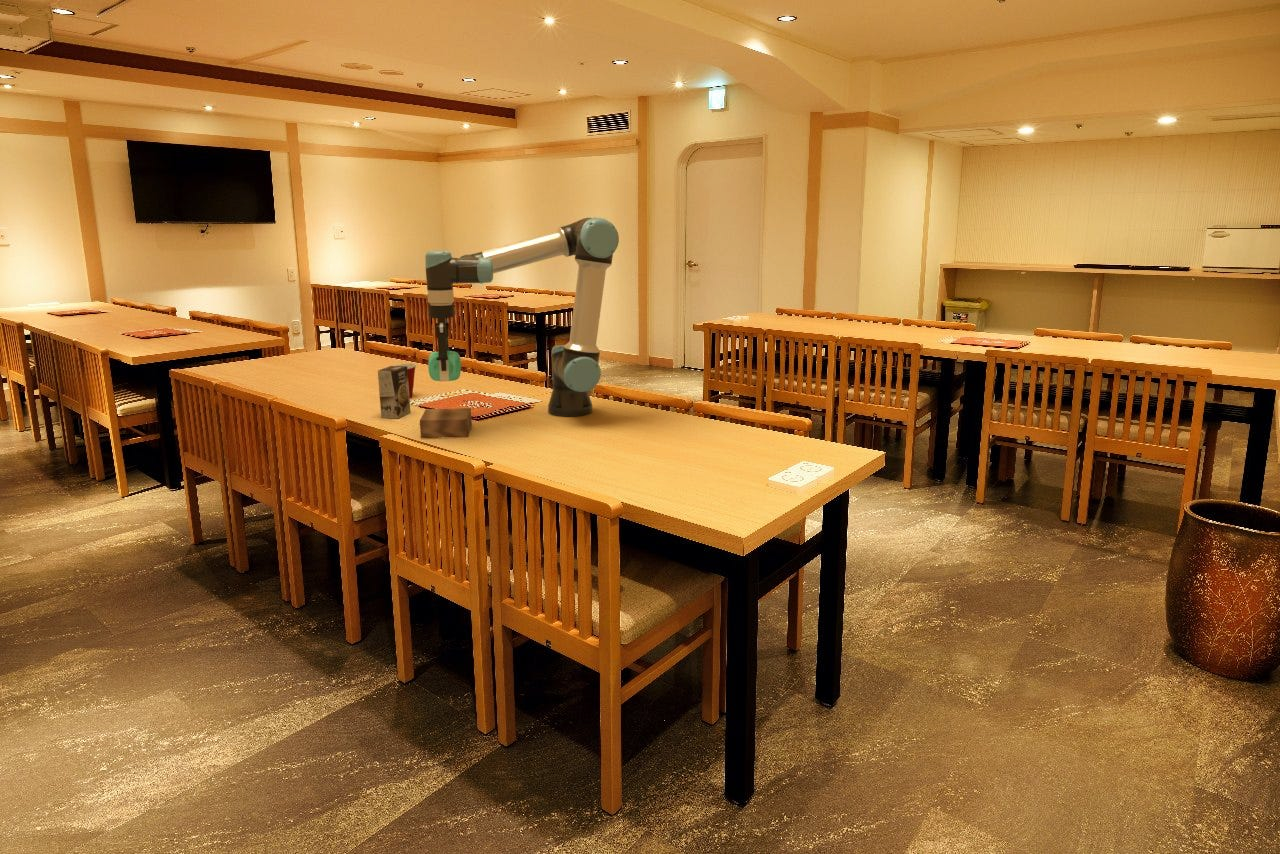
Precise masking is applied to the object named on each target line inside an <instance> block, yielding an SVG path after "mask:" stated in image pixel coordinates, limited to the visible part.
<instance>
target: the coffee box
mask: <svg viewBox="0 0 1280 854" xmlns="http://www.w3.org/2000/svg"><path fill="white" fill-rule="evenodd" d="M377 378H378V392H379V405H380V417H381V418H383V419H400V418H403V417H404V416H406V415H408V414H411V412H412V411H411V400H410V399H411V398H410V397H409V384H408V370H407V366H392V365H389V366H386V367H384V368H382V369H378V370H377Z"/></svg>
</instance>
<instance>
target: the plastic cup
mask: <svg viewBox="0 0 1280 854" xmlns="http://www.w3.org/2000/svg"><path fill="white" fill-rule="evenodd" d="M391 366H407V370H408V384H409V397H410V399H411V398H413V395H414V394H413V393H414V392H413V391H414V382H415V372H416V368H417V364H416V363H412V362H405V363H397V364H393V365H391Z"/></svg>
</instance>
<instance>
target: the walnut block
mask: <svg viewBox="0 0 1280 854" xmlns="http://www.w3.org/2000/svg"><path fill="white" fill-rule="evenodd" d="M472 425H473V424H472V407H469V408H468V407H467V408H466V407H465V408H464V407H463V408H462V407H461V408H459V407H458V408H430V409H429V408H426V409H425V410H424V411H423V414H422V416H421V417H420V419H419V430H420V439H421V438H427V439H442V438H441V437H458V438H469V436H470V433H471V429H472ZM439 437H440V438H439Z"/></svg>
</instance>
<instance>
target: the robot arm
mask: <svg viewBox="0 0 1280 854" xmlns="http://www.w3.org/2000/svg"><path fill="white" fill-rule="evenodd" d="M619 237H620V236H619V232H618V230H617V228H616V227H615V225H614V224H613V223H612V222H611V221H609V220H608V219H606V218H602V217H585V218H581V219H579V220H577V221H575V222H572V223H569V224H566V225H563V226H559V227H558V228H557V230H556V231H554V232H550V233H546V234H543V235H542V234H541V235H538V236H534V237H530V238H527V239H524V240H519V241H516V242H513V243H509V244H504V245H501V246H497V247H494V248H489V249H486V250H482V251H480V252H475V253H471V254H464V255H461V256H460V257H453V256H452V253H451V251H448V250H432V251H430V250H429V251H428V252H426V253H425V256H424V259H425V276H426V277H425V278H426V290H427V292H426V293H424V294H425V295H424V296H426V297H427V302H428V306H427V307H428V308H427V309H428V317H429V318H431V319H437V322H435V325H434V327H435V331H436V332H435V334H436V338H437V352H438V355H439V356H438V358H436V360H439V372H440V381H439V382H450V381H449V365H448V356H447V351H452V350H451V349H450V346H449V335H450V332H449V331H450V330H449V329H450V322H448V319H450V318H453V317H455V306H454V304H453V303H454V302H455V297H454V286H453V285H454V284H481V285H482V284H489V283H492V282H493V280H494V274H497V273H501V272H505V271H508V270H511V269H512V270H513V269H515V268H519V267H523V266H527V265H531V264H534V263H537V262H541V261H545V260H548V259H552V258H555V257H560V256H564V257H566V258H568V257H572V256H574V261H575V262H576V264H577V266H578V271H577V279H576V284H575V285H576V287H575V292H574V293H575V295H574V299H573V300H574V301H573V302H574V303H573V311H572V318H571V326H570V335H569V341H568V342H567V343H566V344H559V345H558V344H557V345H554V346H553V347H551V356H550V357H551V367H552V369H551V372H552V373H551V375H552V392H551V394H550V395H551V396H550V398H549V401H548V405H547V411H548V414H550V415H552V416H557V417H580V416H586V415H589V414H591V413H593V403H592V402H593V401H592V399H591V397H590V393H589V391H591V390H592V389H594V388H595V387H596V386H597V385H598V383H600V379H601V375H602V374H601V373H602V372H601V367H600V365H599V362H600V361H599V360H600V354H601V353H600V352H601V351H600V349H599V348H598V346H597V339H598V332H599V325H600V318H601V310H602V309H601V308H602V302H603V297H604V296H603V295H604V288H605V279H606V272H607V269H608V268H610V267H612V266H613V265H612V263H613V257H614V253H615V252H616V250H617V249H618V247H619V244H620V243H619V242H620V238H619Z"/></svg>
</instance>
